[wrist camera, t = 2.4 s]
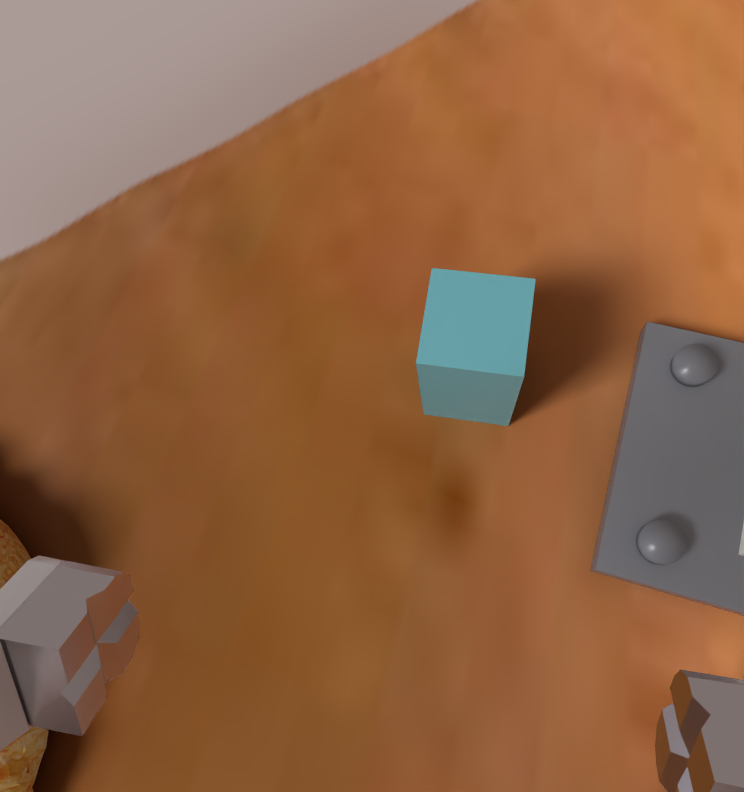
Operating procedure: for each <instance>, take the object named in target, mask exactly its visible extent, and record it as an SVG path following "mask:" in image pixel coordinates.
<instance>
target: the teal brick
mask: <svg viewBox="0 0 744 792" xmlns="http://www.w3.org/2000/svg"><path fill="white" fill-rule="evenodd" d="M535 280H536V279H532V278H522V277H513V276H503V275H493V274H484V273H474V272H464V271H455V270H445V269H435V268H432V271H431V277H430V283H429V289H428V295H427V301H426V307H425V313H424V319H423V325H422V331H421V337H420V343H419V349H418V355H417V361H416V366H417V373H418V379H419V386H420V393H421V400H422V406H423V413H424V414H426V415H433V416H440V417H447V418H454V419H462V420H469V421H476V422H483V423H491V424H498V425H505V426H509V423H510V420H511V416H512V413H513V410H514V407H515V404H516V401H517V398H518V395H519V391H520V388H521V385H522V382H523V379H524V374H525V365H526V357H527V348H528V340H529V331H530V323H531V314H532V306H533V297H534V289H535Z"/></svg>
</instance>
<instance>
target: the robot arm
mask: <svg viewBox="0 0 744 792" xmlns="http://www.w3.org/2000/svg"><path fill="white" fill-rule="evenodd" d="M133 592H134V588H133V584H132V580H131V575H129V574H127V573H124V572H120V571H115V570H110V569H105V568H101V567H96V566H91V565H86V564H81V563H76V562H71V561H64V560H59V559H54V558H49V557H44V556H37V557H34V558H32V559H30V560H28V561H27V562H26V563H25V564H24V565H23V566H22V567H21V568H20V569H19V570H18V571H17V572H16V573H15V574H14V575H13V576H12V578H11V579H10V580H9V581H8V582H7V583H6V584H5V585H4V586H3V587H2V588H1V589H0V751H1V750H2V749H3V748H5V747H6V746H8V745H9V744H10V743H12V742H13V741H14V740H16V739H17V738H19V737H20V736H21V735H23V734H24V733H26V732H27V731H28V730H29V729H30V728H29V726H32V727H37V728H43V729H48V730H53V731H58V732H64V733H69V734H74V735H80V736H83V734H84V733H85V731H86V730H87V728H88V727H89V725H90V723H91V722H92V720H93V719H94V717H95V716H96V714H97V713H98V711H99V709H100V708H101V706H102V705H103V703H104V702H105V700H106V699H107V689H106V682H108V681H110V680H111V679H113V678H115V677H116V676H118V675H120V674H121V673H123V672H124V670H125V668H126V667H127V665H128V663H129V662H130V660H131V658H132V657H133V654H134V651H135V648H136V645H137V642H138V639H139V632H140V619H139V613H138V611H137V610H136V609H135V607H134V606H133V605H132V604H131V603H130V602H129V601H128V599H129V597H130V596H131V595H132V593H133ZM670 690H671V695H672V699H673V704H671V705H669V706H667V707H665V708H664V709H662V711H661V715H660V718H659V721H658V724H657V731H656V742H655V751H656V764H657V770H658V776H659V781H660V783H661V784H662V785H663V786H664V788H665V789H666V790H667V791H668V792H744V680H740V679H734V678H727V677H721V676H715V675H709V674H703V673H697V672H691V671H685V670H680V671H679V672H678V673H677V674H676V675H675V676H674V679H673V681H672V684H671V686H670Z"/></svg>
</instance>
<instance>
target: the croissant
mask: <svg viewBox="0 0 744 792" xmlns="http://www.w3.org/2000/svg"><path fill="white" fill-rule="evenodd" d="M30 559H31V557H30V556H29V554H28V552H27V550H26V549H25V547H24V546H23V544H22V543H21V542H20V540H19V539H18V537H17V536H16V535H15V534H14V532H13V531H12V530H11V529H10V528H9V526H8V525H7V524H5V523H4V522H3V521H2V520H1V519H0V589H1V588H2V587H3V586H4V585H5V584H6V583H7V582H8V581H9V580H10V579H11V578H12V576H13V575H14V574H15V573H16V572H17V571H18V570H19V569H20V568H21V567H22V566H23V565H24V564H25V563H26V562H27V561H28V560H30ZM29 728H30V729H29V730H28V731H27V732H26V733H24V734H23V735H21V736H20V737H19V738H17V739H16V740H14V741H13V742H12V743H10V744H9V745H8V746H6V747H5V748H3V749H2V750H1V751H0V792H34V791H33V789H32V786H33V784H34V782H35V779H36V775H37V772H38V769H39V765H40V762H41V759H42V757H43V754H44V751H45V749H46V746H47V737H48V732H49V730H48V729H43V728H37V727H32V726H29Z"/></svg>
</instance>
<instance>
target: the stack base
mask: <svg viewBox="0 0 744 792" xmlns="http://www.w3.org/2000/svg"><path fill="white" fill-rule="evenodd" d="M591 571H594V572H597V573H600V574H604V575H607V576H611V577H614V578H617V579H621V580H624V581H628V582H631V583H634V584H638V585H641V586H645V587H648V588H651V589H655V590H658V591H662V592H665V593H668V594H672V595H675V596H679V597H682V598H686V599H689V600H692V601H696V602H699V603H703V604H706V605H709V606H713V607H716V608H720V609H723V610H726V611H730V612H733V613H737V614H740V615H743V616H744V343H743V342H738V341H733V340H729V339H724V338H720V337H715V336H711V335H706V334H702V333H697V332H692V331H688V330H683V329H679V328H674V327H670V326H665V325H660V324H656V323H651V322H647V323H646V324H645V326H644V327H643V328H642V330H641V333H640V338H639V343H638V347H637V352H636V357H635V362H634V366H633V371H632V376H631V381H630V385H629V390H628V395H627V400H626V404H625V409H624V414H623V419H622V423H621V428H620V433H619V438H618V442H617V447H616V452H615V457H614V461H613V466H612V471H611V476H610V480H609V485H608V490H607V495H606V499H605V504H604V509H603V514H602V518H601V523H600V528H599V533H598V537H597V542H596V547H595V552H594V556H593V561H592V566H591Z"/></svg>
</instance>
